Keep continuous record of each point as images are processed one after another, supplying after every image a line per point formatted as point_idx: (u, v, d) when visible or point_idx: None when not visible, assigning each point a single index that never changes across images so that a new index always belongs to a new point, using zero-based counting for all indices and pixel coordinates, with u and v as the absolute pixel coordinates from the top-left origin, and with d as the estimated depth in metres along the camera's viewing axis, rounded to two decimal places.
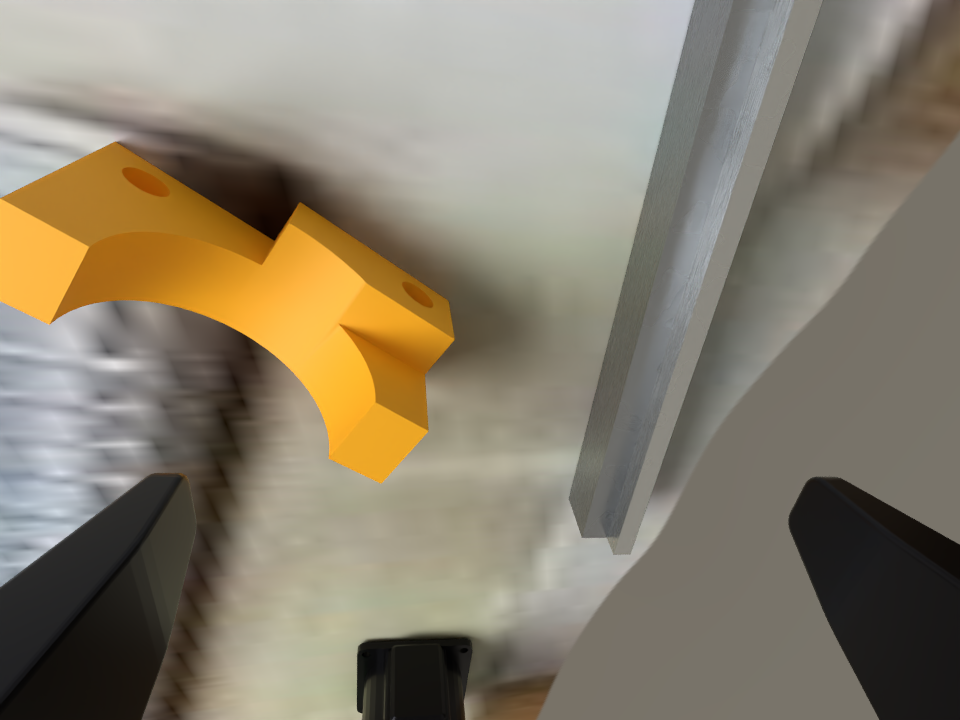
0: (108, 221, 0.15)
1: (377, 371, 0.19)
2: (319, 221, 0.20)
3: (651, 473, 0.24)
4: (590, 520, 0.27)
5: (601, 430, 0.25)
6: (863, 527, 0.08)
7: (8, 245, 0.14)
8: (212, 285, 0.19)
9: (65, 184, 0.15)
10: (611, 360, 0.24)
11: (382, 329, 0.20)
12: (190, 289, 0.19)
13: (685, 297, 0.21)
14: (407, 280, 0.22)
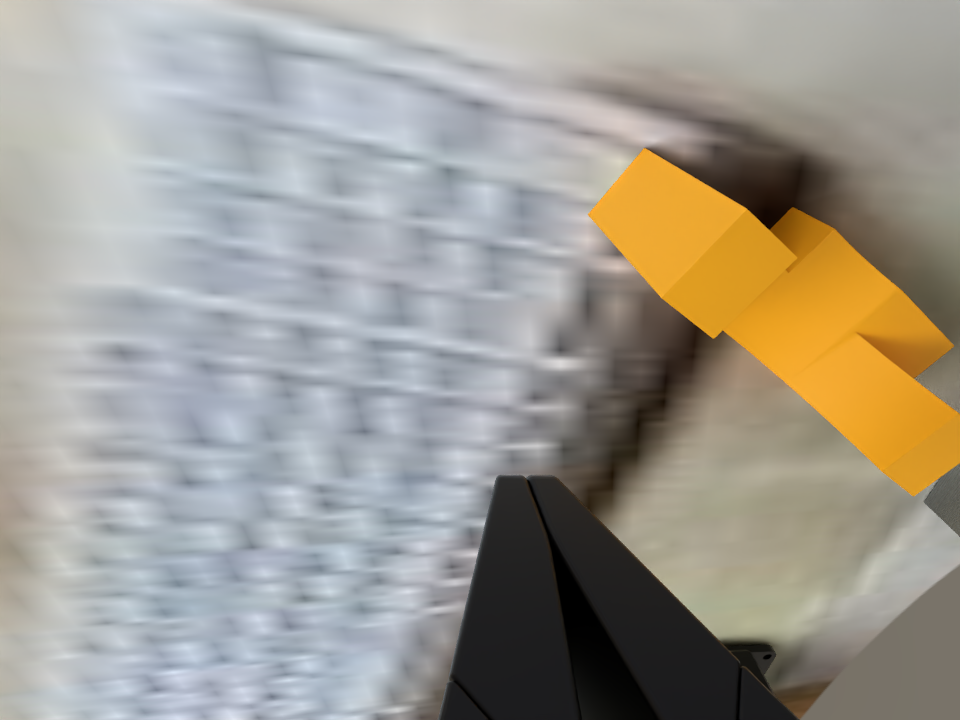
0: None
1: (915, 380, 0.18)
2: None
3: None
4: None
5: None
6: None
7: (725, 257, 0.13)
8: None
9: None
10: None
11: (893, 337, 0.19)
12: None
13: None
14: None
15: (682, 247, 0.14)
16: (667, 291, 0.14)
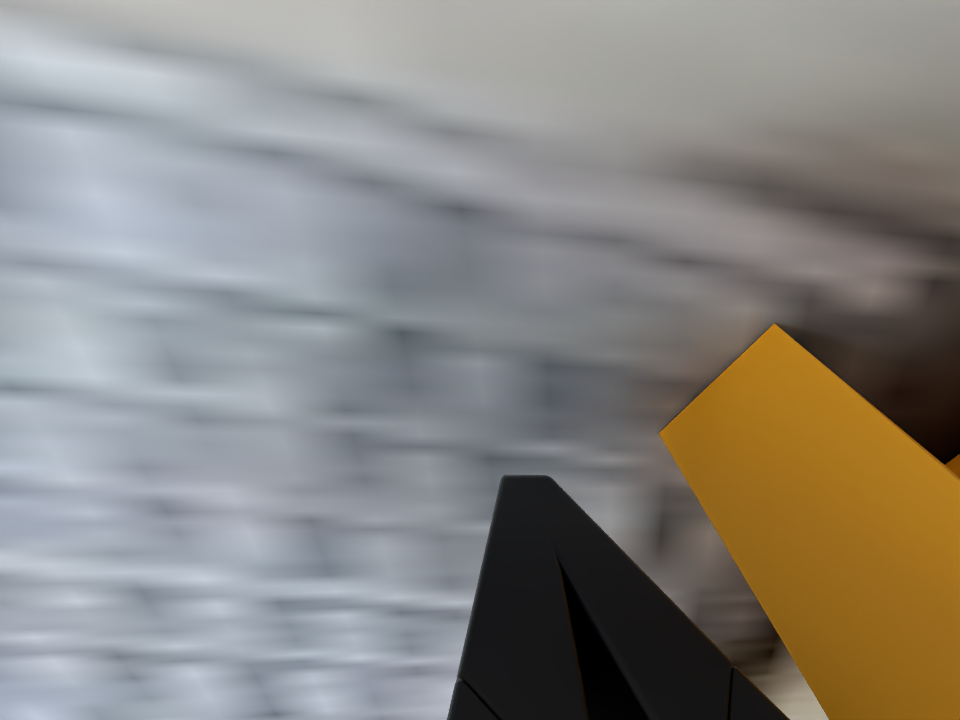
0: None
1: None
2: None
3: None
4: None
5: None
6: None
7: None
8: None
9: None
10: None
11: None
12: None
13: None
14: None
15: None
16: None
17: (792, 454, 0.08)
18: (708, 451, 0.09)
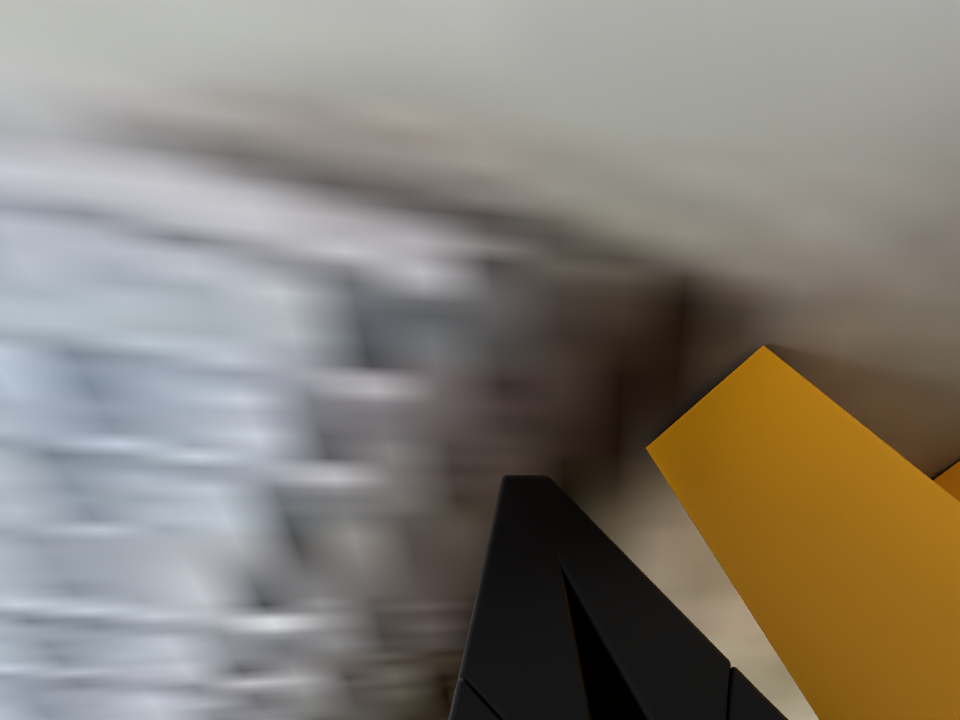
0: None
1: None
2: None
3: None
4: None
5: None
6: None
7: None
8: None
9: None
10: None
11: None
12: None
13: None
14: None
15: None
16: None
17: (782, 467, 0.08)
18: (697, 465, 0.09)
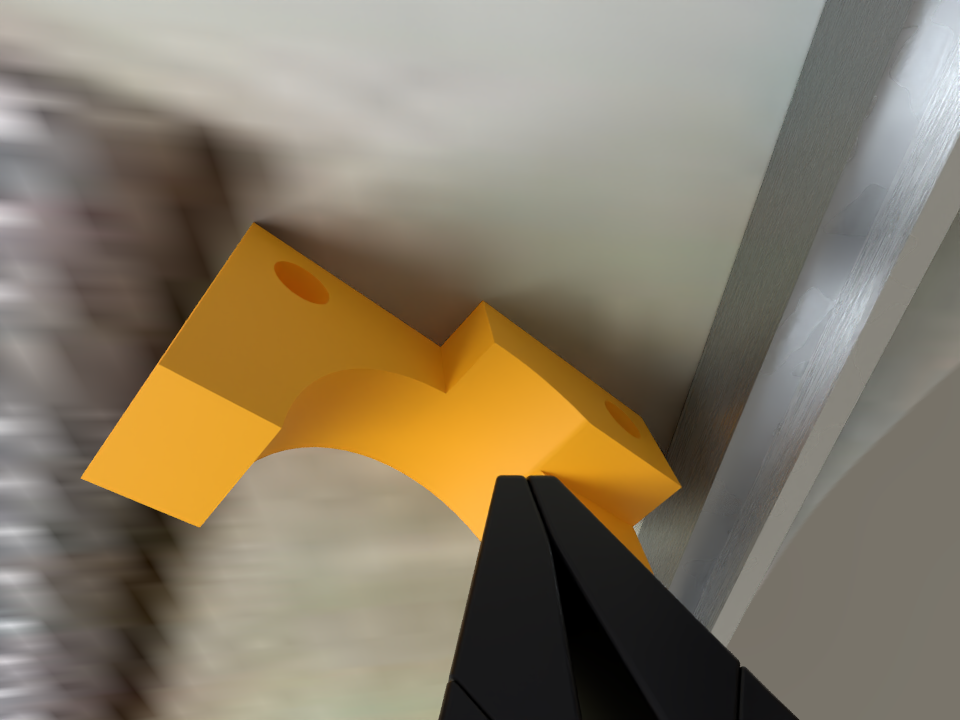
0: (287, 368, 0.10)
1: None
2: (509, 326, 0.15)
3: (754, 576, 0.17)
4: None
5: (678, 510, 0.18)
6: None
7: (158, 427, 0.09)
8: (378, 419, 0.14)
9: (225, 311, 0.10)
10: (696, 414, 0.17)
11: (594, 476, 0.15)
12: (351, 426, 0.14)
13: (832, 332, 0.14)
14: (605, 397, 0.17)
15: None
16: (86, 469, 0.09)
17: None
18: None
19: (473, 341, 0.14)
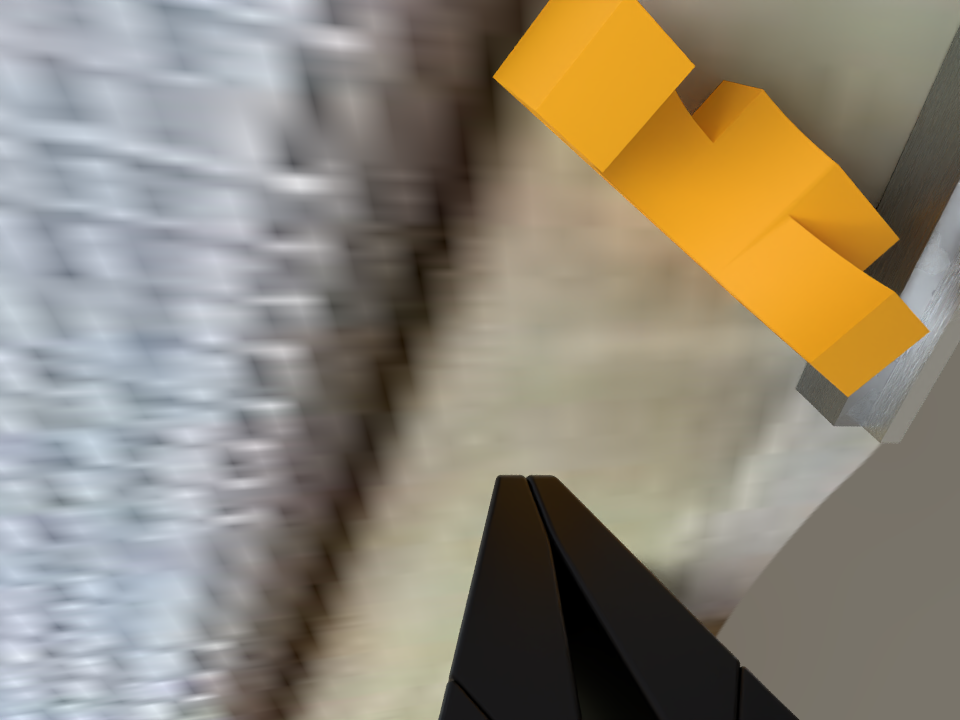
0: None
1: (851, 266, 0.16)
2: None
3: (959, 327, 0.19)
4: (849, 402, 0.22)
5: (881, 281, 0.20)
6: None
7: (608, 59, 0.11)
8: (658, 165, 0.16)
9: None
10: (905, 187, 0.19)
11: (830, 223, 0.17)
12: (639, 167, 0.16)
13: None
14: None
15: (564, 57, 0.12)
16: (541, 102, 0.12)
17: (540, 35, 0.15)
18: (509, 63, 0.16)
19: (730, 103, 0.17)
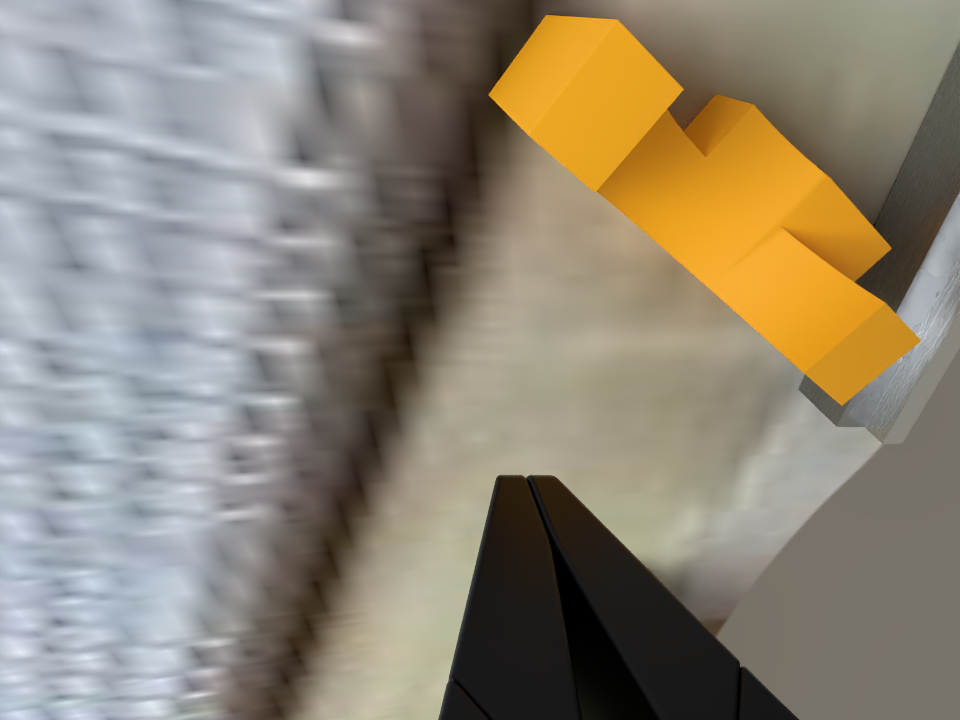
0: None
1: (843, 276, 0.16)
2: None
3: None
4: (852, 402, 0.22)
5: (885, 283, 0.20)
6: None
7: (598, 84, 0.12)
8: (651, 179, 0.17)
9: None
10: (909, 189, 0.20)
11: (822, 234, 0.17)
12: (633, 182, 0.16)
13: None
14: None
15: (556, 81, 0.12)
16: (534, 127, 0.12)
17: (533, 55, 0.15)
18: (504, 81, 0.16)
19: (722, 117, 0.17)
